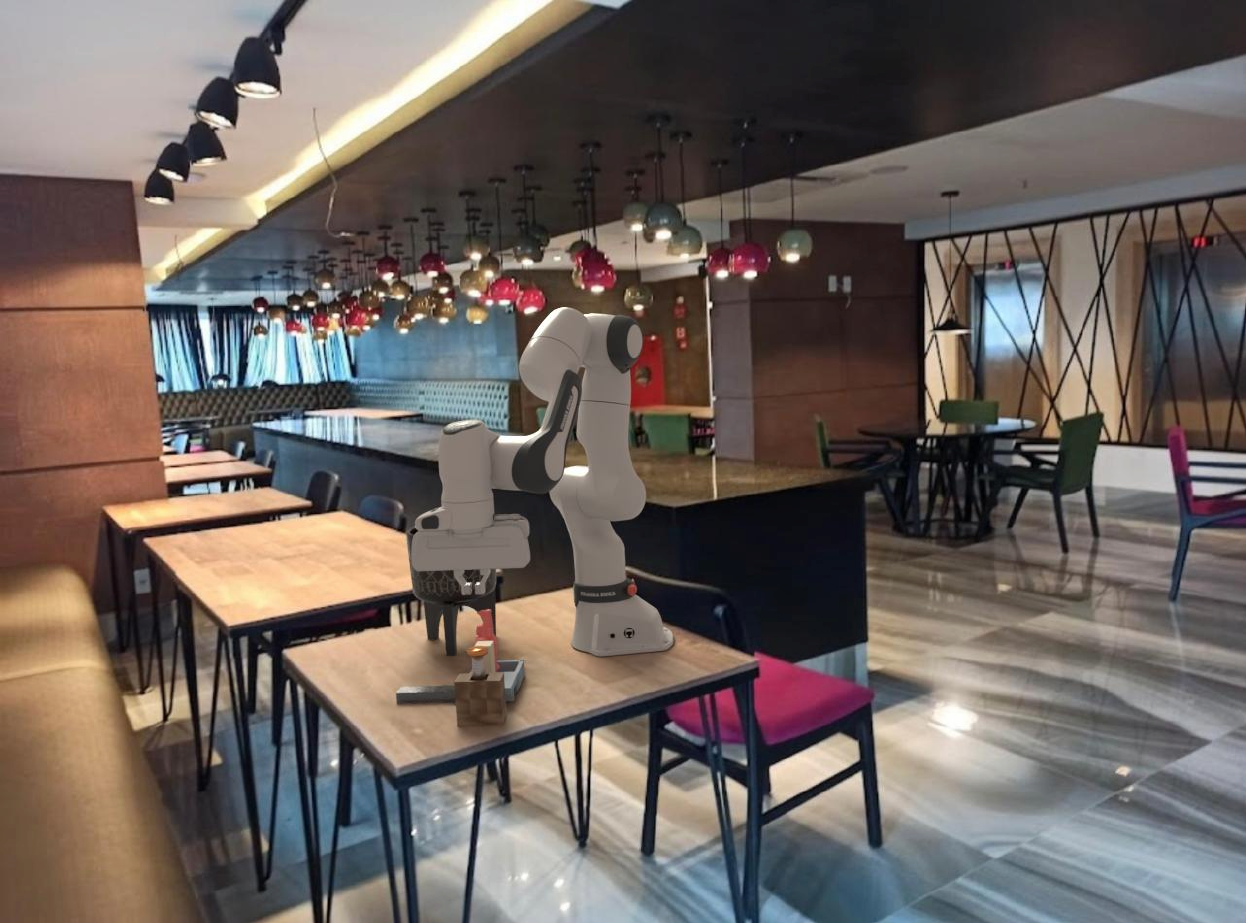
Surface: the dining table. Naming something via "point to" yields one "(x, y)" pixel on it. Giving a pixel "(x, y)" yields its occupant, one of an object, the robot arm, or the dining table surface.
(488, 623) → the figurine
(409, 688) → the rail
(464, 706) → the box
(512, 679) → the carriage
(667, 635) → the robot arm
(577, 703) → the dining table surface
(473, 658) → the button
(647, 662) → the dining table surface
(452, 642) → the planter
